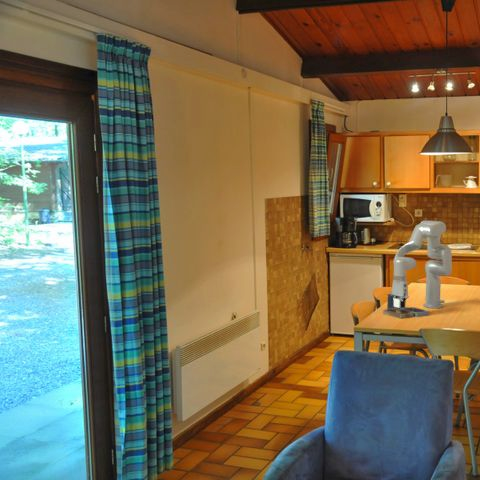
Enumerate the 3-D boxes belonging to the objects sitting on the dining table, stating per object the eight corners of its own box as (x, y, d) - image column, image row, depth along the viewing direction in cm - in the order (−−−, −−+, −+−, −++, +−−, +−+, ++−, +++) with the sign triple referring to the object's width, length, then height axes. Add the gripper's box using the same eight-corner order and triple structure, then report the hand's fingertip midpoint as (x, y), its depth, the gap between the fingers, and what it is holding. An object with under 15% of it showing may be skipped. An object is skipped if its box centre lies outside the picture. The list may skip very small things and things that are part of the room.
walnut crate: (395, 312, 459) (395, 308, 458) (413, 317, 445) (414, 312, 445) (383, 314, 453) (383, 310, 452) (401, 319, 439) (401, 314, 439)
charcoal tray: (411, 311, 463) (411, 307, 462) (429, 315, 450) (429, 311, 450) (399, 313, 457) (399, 308, 457) (416, 317, 444) (416, 312, 444)
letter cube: (399, 305, 452) (399, 297, 451) (405, 306, 448) (405, 299, 447) (393, 306, 449) (393, 298, 449) (399, 307, 445) (399, 300, 445)
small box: (390, 311, 463) (391, 295, 462) (386, 309, 469) (387, 293, 468) (405, 310, 465) (406, 295, 464) (401, 308, 471) (402, 293, 470)
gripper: (414, 279, 441) (413, 308, 444) (394, 275, 456) (394, 303, 458) (405, 280, 437) (404, 309, 440) (385, 276, 452) (385, 304, 454)
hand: (399, 306), depth 449 cm, fingers closed on letter cube, 4 cm apart
